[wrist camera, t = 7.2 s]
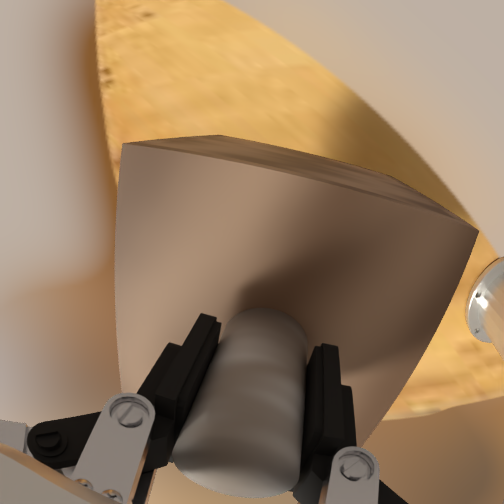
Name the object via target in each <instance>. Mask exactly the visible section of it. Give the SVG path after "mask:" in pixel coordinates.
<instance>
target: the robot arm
mask: <svg viewBox="0 0 504 504" xmlns="http://www.w3.org/2000/svg"><path fill="white" fill-rule="evenodd" d="M466 322H467V325H468V328H469V330H470V331H471V333H472V334H473V336H474V337H476V338H477V339H478V340H480V341H482V342H487V343H493V345H494V346H495V348H496V349H497V351H498V352H499V354H500V356H501V357H502V359H503V360H504V257H502V258H499V259H498V260H496V261H495V262H493V263H492V264H491V265H490V266H488V267H487V268H486V269H485V270H484V271H483V273H482V274H481V275H480V276H479V278H478V279H477V281H476V282H475V284H474V286H473V288H472V290H471V292H470V294H469V297H468V300H467V305H466ZM221 324H222V323H221V322H217V317H215V316H211V315H207V314H204V313H200V315H199V317H198V318H197V320H196V322H195V324H194V325H193V327H192V329H191V331H190V332H189V334H188V336H187V338H186V339H185V341H184V343H183V345H182V346H181V345H177V344H174V343H171V342H169V343H168V344H167V345H166V347H165V348H164V350H163V352H162V353H161V355H160V356H159V358H158V359H157V361H156V363H155V364H154V366H153V367H152V369H151V371H150V372H149V374H148V375H147V377H146V379H145V380H144V382H143V383H142V385H141V387H140V388H139V390H138V392H137V393H136V394H135V393H120V394H117V395H115V396H113V397H112V398H110V399H109V400H108V401H107V403H106V404H105V406H104V408H103V410H102V411H101V412H96V413H91V414H86V415H81V416H76V417H71V418H64V419H58V420H52V421H46V422H42V423H38V424H37V425H35V426H34V427H28V426H27V424H26V423H18V422H11V421H5V420H0V504H148V501H149V497H150V493H151V490H152V486H153V482H154V479H155V475H156V472H157V468H160V467H164V466H166V465H167V464H168V462H171V463H173V459H172V451H173V448H174V446H175V444H176V441H177V439H178V437H179V434H180V432H181V430H182V428H183V426H184V423H185V421H186V419H187V416H188V414H189V411H190V409H191V407H192V404H193V402H194V400H195V397H196V395H197V393H198V390H199V388H200V386H201V383H202V381H203V379H204V376H205V374H206V371H207V369H208V367H209V364H210V362H211V360H212V357H213V355H214V353H215V350H216V348H217V345H218V342H219V336H220V330H221ZM289 491H292V492H293V496H294V498H295V499H296V500H297V501H298V503H297V504H408V503H407V502H405V501H404V500H403V499H402V498H401V497H399V496H398V495H397V494H396V493H395V492H394V491H392V490H391V489H390V488H389V487H388V486H386V485H385V484H384V483H383V482H382V481H381V480H379V464H378V461H377V460H376V458H375V457H374V455H373V454H372V453H370V452H369V451H367V450H366V449H363V448H360V447H357V441H356V427H355V415H354V404H353V394H352V388H351V387H350V386H347V385H341V371H340V359H339V348H338V346H335V345H330V344H325V343H322V344H321V346H315V347H314V350H313V352H312V355H311V357H310V360H309V362H308V365H307V376H306V395H305V411H304V426H303V439H302V452H301V463H300V474H299V480H298V482H297V484H296V485H295V486H294V487H293V488H292V489H291V490H289ZM502 504H504V501H503V503H502Z"/></svg>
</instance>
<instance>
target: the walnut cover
mask: <svg viewBox="0 0 504 504" xmlns="http://www.w3.org/2000/svg"><path fill="white" fill-rule="evenodd" d="M478 233H479V230H477V229H476V228H474V227H473V226H471V225H470V224H468V223H467V222H465V221H464V220H462V219H461V218H459V217H458V216H456V215H455V214H453V213H452V212H450V211H449V210H447V209H446V208H444V207H442V206H441V205H439V204H438V203H436V202H434V201H433V200H431V199H430V198H428V197H426V196H425V195H423V194H421V193H420V192H418V191H416V190H414V189H413V188H411V187H409V186H408V185H406V184H404V183H402V182H401V181H399V180H397V179H395V178H393V177H392V176H388V175H385V174H382V173H379V172H375V171H372V170H369V169H365V168H362V167H358V166H355V165H351V164H348V163H344V162H340V161H337V160H333V159H329V158H325V157H321V156H317V155H313V154H309V153H305V152H301V151H296V150H292V149H288V148H283V147H279V146H274V145H269V144H265V143H260V142H255V141H250V140H245V139H239V138H234V137H228V136H223V135H208V136H193V137H179V138H168V139H157V140H148V141H139V142H130V143H123V144H122V152H121V161H120V171H119V182H118V195H117V211H116V232H115V308H116V330H117V345H118V346H117V347H118V359H119V370H120V380H121V389H122V393H135V394H136V393H137V392H138V390H139V388H140V387H141V385H142V383H143V382H144V380H145V379H146V377H147V375H148V374H149V372H150V371H151V369H152V367H153V366H154V364H155V363H156V361H157V359H158V358H159V356H160V355H161V353H162V352H163V350H164V348H165V347H166V345H167V344H168V343H169V342H171V343H174V344H177V345H181V346H182V345H183V343H184V341H185V339H186V338H187V336H188V334H189V332H190V331H191V329H192V327H193V325H194V324H195V322H196V320H197V318H198V317H199V315H200V313H204V314H207V315H211V316H215V317H217V322H221V323H222V324H221V330H220V336H219V342H218V345H217V348H216V350H215V353H214V355H213V357H212V360H211V362H210V364H209V367H208V369H207V371H206V374H205V376H204V379H203V381H202V383H201V386H200V388H199V390H198V393H197V395H196V397H195V400H194V402H193V404H192V407H191V409H190V411H189V414H188V416H187V419H186V421H185V423H184V426H183V428H182V430H181V432H180V434H179V437H178V439H177V441H176V444H175V446H174V448H173V451H172V459H173V462H174V463H175V465H176V467H177V468H178V469H179V470H180V471H181V472H182V473H183V474H184V475H185V476H186V477H188V478H189V479H191V480H192V481H194V482H195V483H197V484H199V485H201V486H203V487H205V488H207V489H210V490H213V491H215V492H218V493H222V494H226V495H231V496H236V497H245V498H264V497H271V496H276V495H280V494H282V493H285V492H287V491H289V490H291V489H292V488H293V487H294V486H295V485H296V484H297V482H298V480H299V474H300V463H301V452H302V439H303V426H304V411H305V395H306V376H307V365H308V362H309V360H310V357H311V355H312V352H313V350H314V347H315V346H321V344H322V343H325V344H330V345H335V346H338V348H339V359H340V371H341V385H347V386H350V387H351V388H352V394H353V404H354V415H355V427H356V441H357V447H360V448H361V447H362V446H363V444H364V443H365V442H366V440H367V439H368V438H369V436H370V435H371V434H372V432H373V431H374V430H375V428H376V427H377V426H378V424H379V423H380V421H381V420H382V419H383V417H384V416H385V414H386V413H387V411H388V410H389V409H390V407H391V406H392V404H393V403H394V401H395V400H396V398H397V397H398V395H399V394H400V392H401V390H402V389H403V387H404V386H405V384H406V383H407V381H408V379H409V378H410V376H411V374H412V373H413V371H414V369H415V368H416V366H417V364H418V363H419V361H420V359H421V357H422V356H423V354H424V352H425V350H426V349H427V347H428V345H429V343H430V341H431V339H432V338H433V336H434V334H435V332H436V330H437V328H438V326H439V324H440V322H441V320H442V318H443V316H444V314H445V312H446V310H447V308H448V306H449V304H450V302H451V299H452V297H453V295H454V293H455V291H456V288H457V286H458V284H459V282H460V279H461V277H462V274H463V272H464V270H465V267H466V265H467V262H468V260H469V257H470V255H471V252H472V249H473V247H474V244H475V241H476V238H477V236H478Z"/></svg>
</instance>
